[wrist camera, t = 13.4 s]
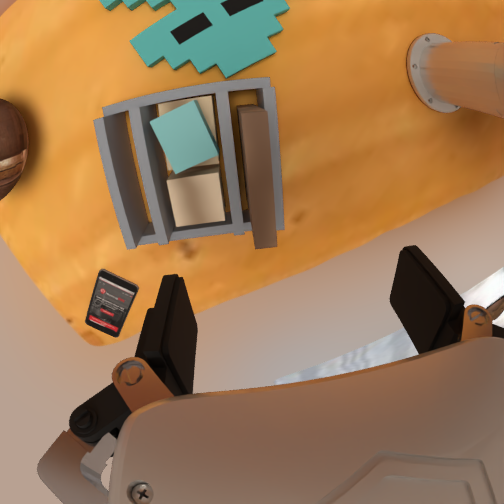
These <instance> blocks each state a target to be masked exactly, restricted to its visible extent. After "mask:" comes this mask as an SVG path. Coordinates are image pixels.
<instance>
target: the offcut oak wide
mask: <svg viewBox="0 0 504 504" xmlns="http://www.w3.org/2000/svg"><path fill="white" fill-rule="evenodd" d="M193 100H197V101H198V103H199V106H200V108H201V110H202V112H203V114H204V116H205V119H206V121H207V123H208V125H209V127H210V130H211V132H212V134H213V136H214V138H215V141H216V143H217V145H218V136H217V126H216V117H215V107H214V98H213V95H212V96H204V97H197V98H190V99H184V100H178V101H172V102H166V103H161V104H158V109H159V116H162V115H164V114H166V113H168V112H170V111H172V110H174V109H176V108H178V107H180V106H182V105H184V104H186V103H188V102H191V101H193ZM218 147H219V145H218ZM165 156H166V154H165ZM219 159H220V154H219V155H217V156H215V157H213V158H210V159H208V160H206V161H204V162H201V163H199V164H197V165H195V166H192V167H196V166H203V165H211V164H219ZM166 162H167V168H168V170H173V168H172V166H171V164H170V162H169V160H168V158H167V156H166Z"/></svg>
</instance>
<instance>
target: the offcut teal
mask: <svg viewBox="0 0 504 504" xmlns="http://www.w3.org/2000/svg"><path fill="white" fill-rule="evenodd" d="M150 124H151V126H152V128H153V130H154V132H155V134H156V136H157V138H158V140H159V142H160V144H161V146H162V148H163V150H164V152H165V154H166V156H167V158H168V160H169V162H170V164H171V166H172V168H173V170H174V172H175V174H177V173H179V172H182V171H184V170H186V169H188V168H190V167H192V166H195V165H197V164H199V163H201V162H204V161H206V160H208V159H210V158H213V157H215V156H217V155H219V150H220V149H219V147H218V145H217V143H216V141H215V138H214V136H213V134H212V132H211V130H210V127H209V125H208V123H207V121H206V119H205V116H204V114H203V112H202V110H201V108H200V106H199V103H198V101H197V100H193V101H191V102H188V103H186V104H184V105H182V106H180V107H178V108H176V109H174V110H172V111H170V112H168V113H166V114H164V115H162V116H160V117H158V118H156V119H154V120H152V121H150Z"/></svg>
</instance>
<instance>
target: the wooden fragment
mask: <svg viewBox="0 0 504 504" xmlns="http://www.w3.org/2000/svg"><path fill="white" fill-rule="evenodd" d="M487 311H488V312H489V313H490V315H491V317H492V321H493V320H495V319H496V318H498V317H499V316H500V314H501V313H502V312H503V311H504V297H503V298H501V299H500V300H498V301H497V302H496V303H494V304H493V305H491V306H489V307H488V308H487Z"/></svg>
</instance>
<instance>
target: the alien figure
mask: <svg viewBox="0 0 504 504" xmlns="http://www.w3.org/2000/svg"><path fill="white" fill-rule="evenodd" d="M145 1H147V2H148V4H149V5H150V6H151V7H152V8H153V9H154V10H155V11H156V10H158V9H159V8H161V7H162V6H164V5H166V4H167V3H169V2H171V3H172V4H173V5H174V6H175V8H176V9H177V10H175V11H173V12H172V13H170V14H168V15H167V16H165V17H164V18H162V19H160V20H159V21H157V22H156V23H154V24H153V25H151V26H150V27H148V28H147V29H145V30H144V31H143V32H141V33H140V34H138V35H137V36H136V37H134V38H133V39H132V40H130V43H131V44H132V45H133V47H134V48H135V50H136V51H137V52H138V54H139V55H140V57H141V58H142V59H143V61H144V62H145V64H146V65H147V66H148V67H153V66H154V65H156V64H157V63H159V62H160V61H161V60H163V59H164V58H165V59H166V60H167V61H168V63H169V64H170V66H171V67H172V68H173V69H174V70H177V69H178V68H180V67H181V66H183V65H184V64H186V63H188V62H189V61H191V62H192V63H193V65H194V66H195V67H196V69H197V70H198V72H199V73H200V74H201V73H203V72H205V71H206V70H208V69H210V68H211V67H213V66H215V65H217V66H218V67H219V69H220V70H221V71H222V73H223V74H224V76H225V77H226V78H228V77H230V76H232V75H234V74H235V73H237V72H239V71H241V70H243V69H245V68H246V67H248V66H250V65H252V64H254V63H256V62H258V61H260V60H262V59H264V58H266V57H268V56H270V55H272V54H274V53H275V52H277V51H276V50H275V48H274V47H273V45H272V44H271V42H270V41H269V39H268V38H269V37H271V36H273V35H275V34H277V33H280V32H281V31H282V30H283V28H282V26H281V25H280V23H279V22H278V20H277V19H276V17H275V16H278V15H280V14H283V13H285V12H287V11H288V10H289V9H290V7H289V6H288V5H287V3H286V2H285V0H100V2H101V3H102V4H103V6H104V7H105V8H106V9H108V10H109V11H111V10H112V9H114V8H115V7H116V6H118V5H119V4H120V3H122V2H124V3H125V4H126V6H127V7H128V8H129V9H131V10H134V9H135V8H136V7H138V6H139V5H141V4H142V3H144V2H145Z"/></svg>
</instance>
